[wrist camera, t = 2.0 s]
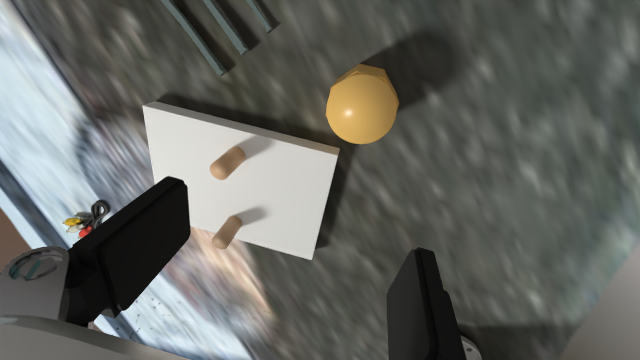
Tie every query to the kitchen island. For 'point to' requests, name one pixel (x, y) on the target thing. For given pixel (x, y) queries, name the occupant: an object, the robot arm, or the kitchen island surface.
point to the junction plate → (243, 177)
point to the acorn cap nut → (362, 105)
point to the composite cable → (87, 220)
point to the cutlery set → (224, 24)
